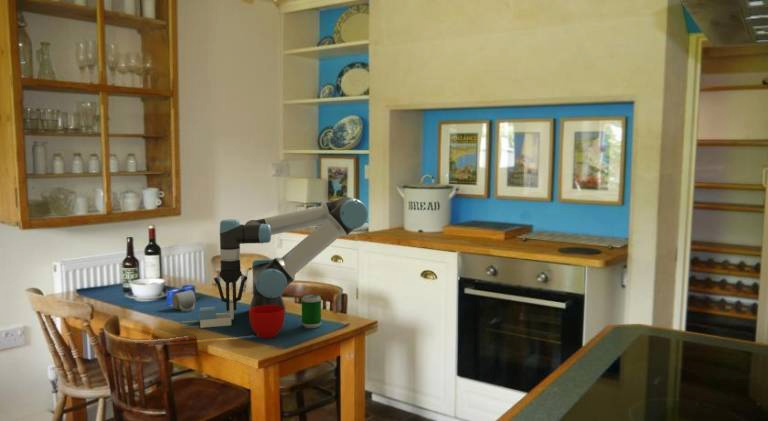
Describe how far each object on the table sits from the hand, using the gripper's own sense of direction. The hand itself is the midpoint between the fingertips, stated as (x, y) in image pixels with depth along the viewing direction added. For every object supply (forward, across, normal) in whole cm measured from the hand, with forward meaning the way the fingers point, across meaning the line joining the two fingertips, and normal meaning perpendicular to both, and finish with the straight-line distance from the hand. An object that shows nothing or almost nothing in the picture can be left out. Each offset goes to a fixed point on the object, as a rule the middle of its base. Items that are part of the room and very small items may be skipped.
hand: (231, 318), depth 249 cm
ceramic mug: (+3, +17, -31) cm, 35 cm away
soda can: (+3, -30, +12) cm, 32 cm away
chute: (+2, +10, 0) cm, 10 cm away
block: (+1, +9, 0) cm, 9 cm away
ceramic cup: (+3, -11, +18) cm, 21 cm away
